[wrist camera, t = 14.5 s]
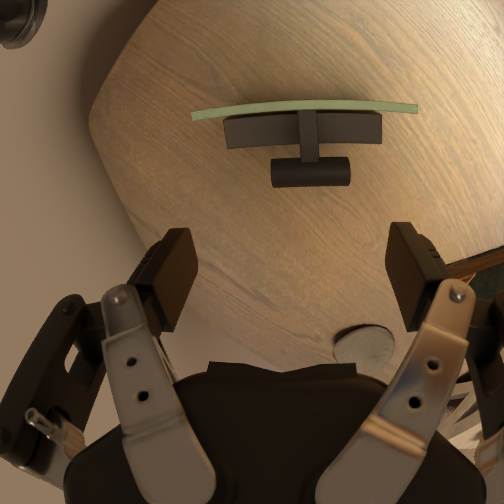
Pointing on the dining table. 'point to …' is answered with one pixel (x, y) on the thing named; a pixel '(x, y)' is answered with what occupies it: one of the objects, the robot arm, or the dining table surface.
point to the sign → (307, 139)
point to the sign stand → (287, 131)
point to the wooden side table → (464, 419)
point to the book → (481, 273)
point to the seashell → (365, 349)
